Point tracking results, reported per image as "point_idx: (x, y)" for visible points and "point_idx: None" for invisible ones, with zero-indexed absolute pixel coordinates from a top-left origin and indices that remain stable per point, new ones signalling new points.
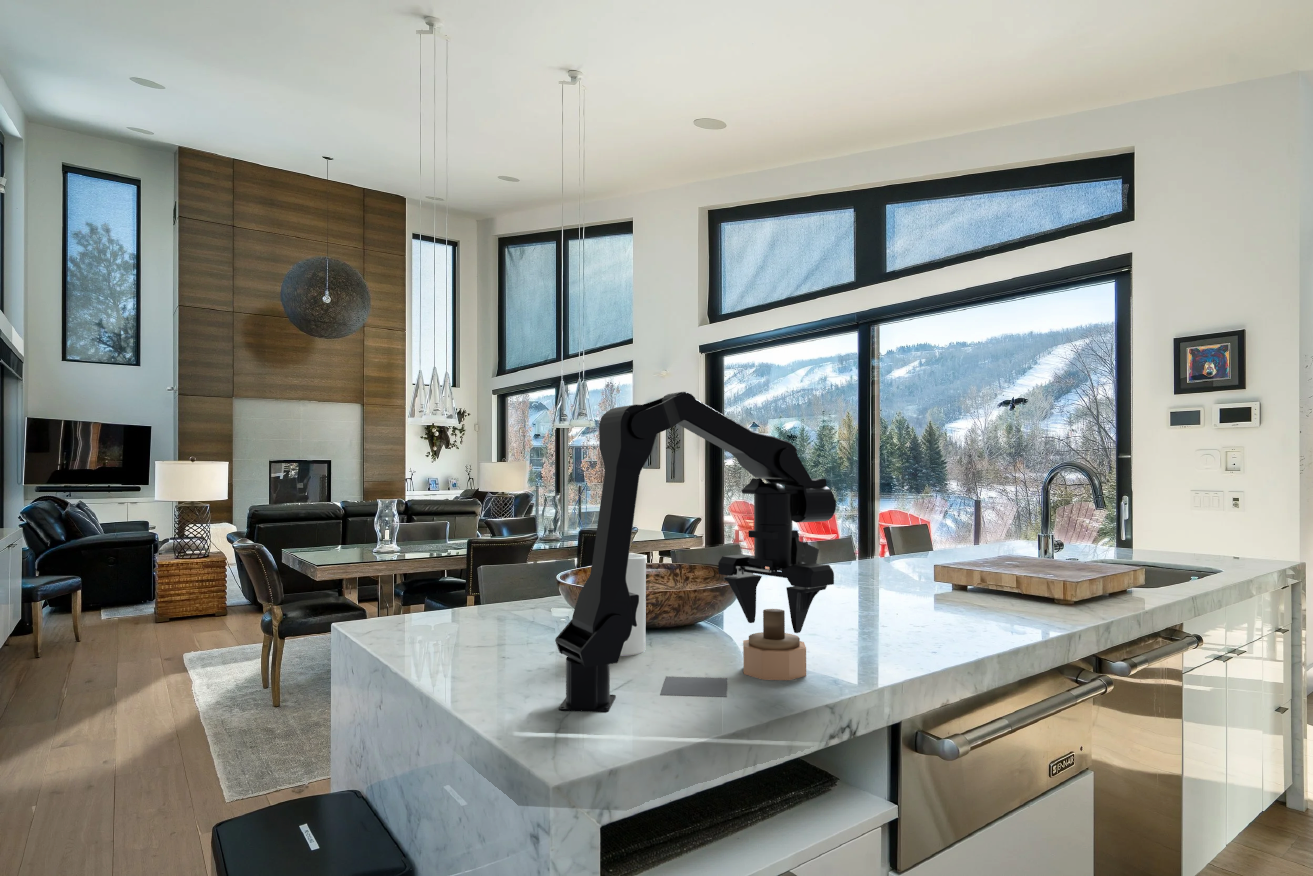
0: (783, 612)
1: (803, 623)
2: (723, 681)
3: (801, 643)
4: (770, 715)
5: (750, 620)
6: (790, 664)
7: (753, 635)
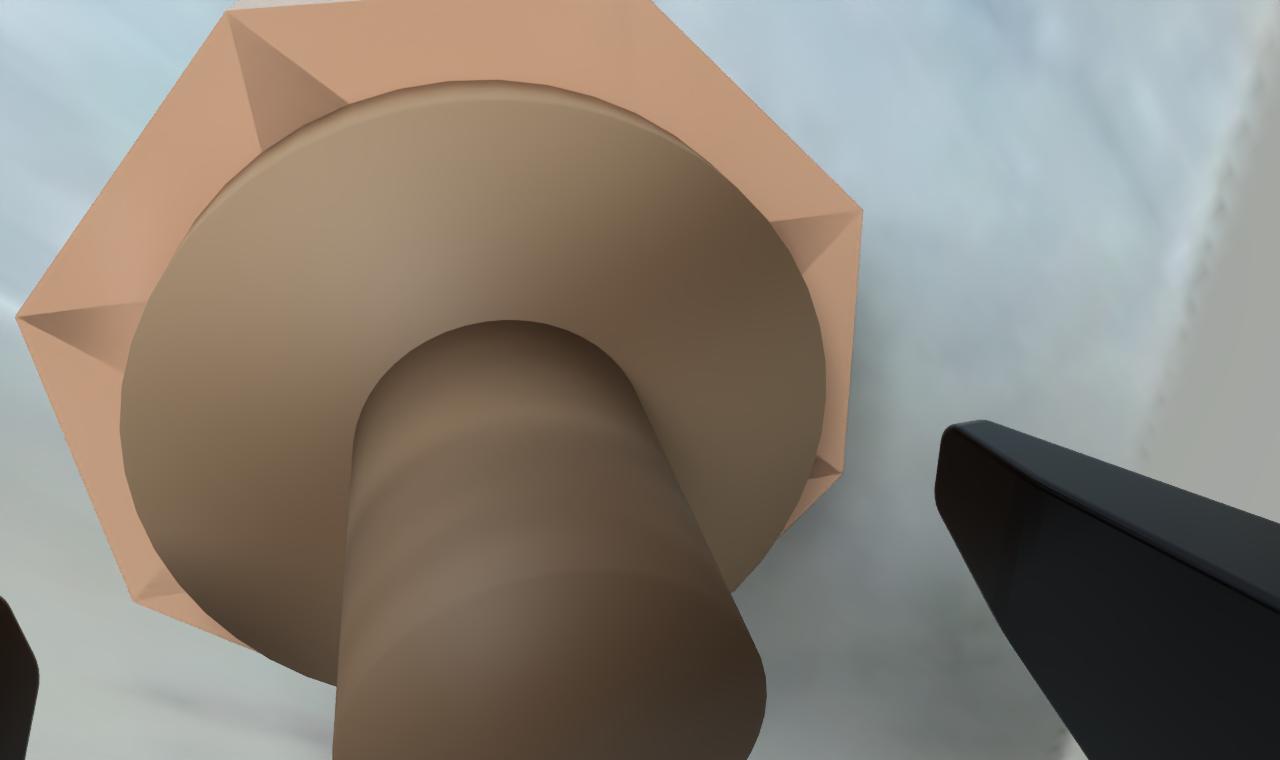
0: (754, 648)
1: (1093, 461)
2: None
3: (678, 88)
4: (1025, 727)
5: (29, 702)
6: None
7: (261, 600)
